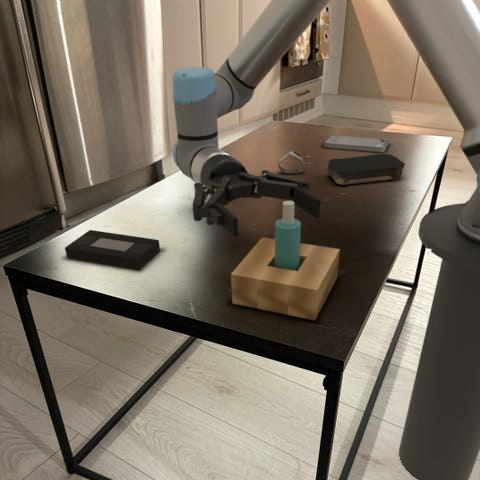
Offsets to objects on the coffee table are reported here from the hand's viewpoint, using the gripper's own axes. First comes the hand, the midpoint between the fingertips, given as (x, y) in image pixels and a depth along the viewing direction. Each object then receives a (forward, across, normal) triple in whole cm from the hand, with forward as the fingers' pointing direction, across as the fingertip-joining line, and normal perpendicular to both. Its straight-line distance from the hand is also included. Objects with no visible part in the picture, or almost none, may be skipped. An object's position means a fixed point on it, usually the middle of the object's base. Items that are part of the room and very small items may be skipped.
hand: (278, 218), depth 73 cm
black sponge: (-32, -40, -11) cm, 52 cm away
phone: (-53, -53, -11) cm, 76 cm away
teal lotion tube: (+3, 0, -11) cm, 11 cm away
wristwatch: (-43, -27, -11) cm, 52 cm away
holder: (+3, 0, -11) cm, 11 cm away
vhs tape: (-22, +21, -11) cm, 32 cm away
